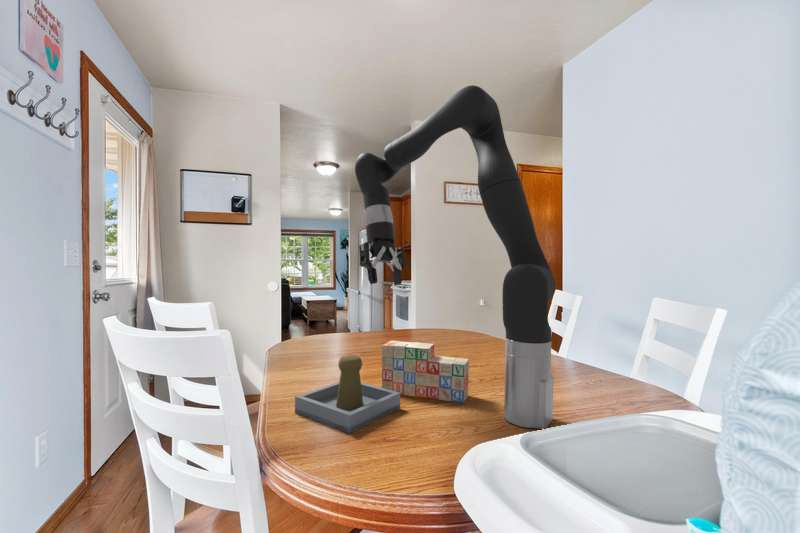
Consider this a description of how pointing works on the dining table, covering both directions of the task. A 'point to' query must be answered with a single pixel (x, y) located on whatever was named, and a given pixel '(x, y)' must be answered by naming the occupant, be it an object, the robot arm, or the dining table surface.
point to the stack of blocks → (423, 372)
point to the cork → (349, 383)
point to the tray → (325, 411)
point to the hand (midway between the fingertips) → (386, 284)
